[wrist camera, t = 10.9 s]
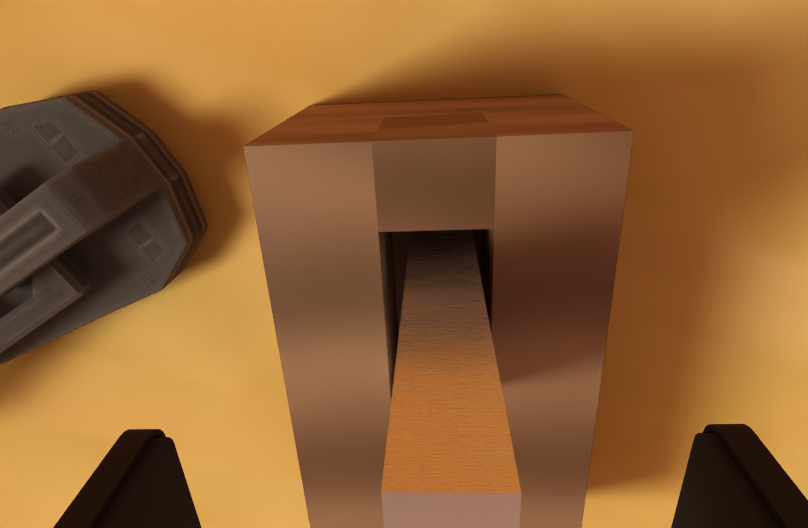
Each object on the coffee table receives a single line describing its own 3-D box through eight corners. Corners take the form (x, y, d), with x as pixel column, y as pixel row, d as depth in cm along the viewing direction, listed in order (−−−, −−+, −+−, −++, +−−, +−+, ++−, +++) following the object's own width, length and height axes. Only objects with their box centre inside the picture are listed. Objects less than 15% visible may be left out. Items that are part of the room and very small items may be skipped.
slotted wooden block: (309, 105, 21) (243, 146, 14) (561, 94, 20) (634, 131, 13) (356, 498, 30) (331, 650, 23) (532, 500, 29) (564, 656, 22)
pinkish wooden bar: (412, 216, 18) (381, 492, 7) (468, 215, 18) (521, 493, 7) (417, 325, 20) (396, 674, 9) (468, 324, 20) (509, 677, 9)
